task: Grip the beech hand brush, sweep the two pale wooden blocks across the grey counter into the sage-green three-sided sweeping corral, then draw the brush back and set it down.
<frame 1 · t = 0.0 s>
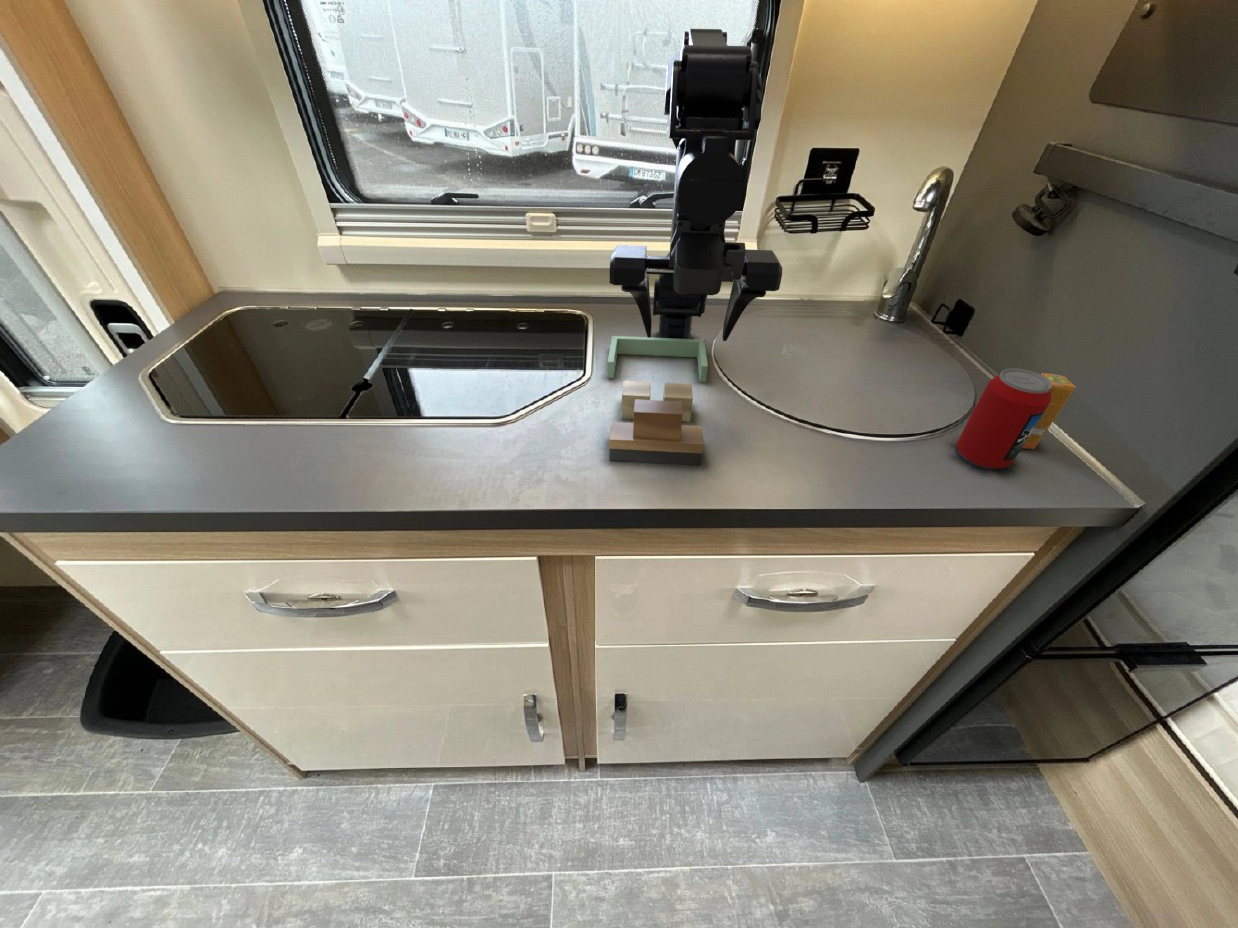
hand: (686, 338, 64), 15 cm above the worktop, tool pointing down, fingers open, 9 cm apart
block a: (635, 411, 78), on the worktop
block b: (676, 413, 78), on the worktop
brush: (654, 453, 70), on the worktop
beverage can: (980, 458, 71), on the worktop
corral: (656, 367, 89), on the worktop
supplement box: (1018, 443, 74), on the worktop
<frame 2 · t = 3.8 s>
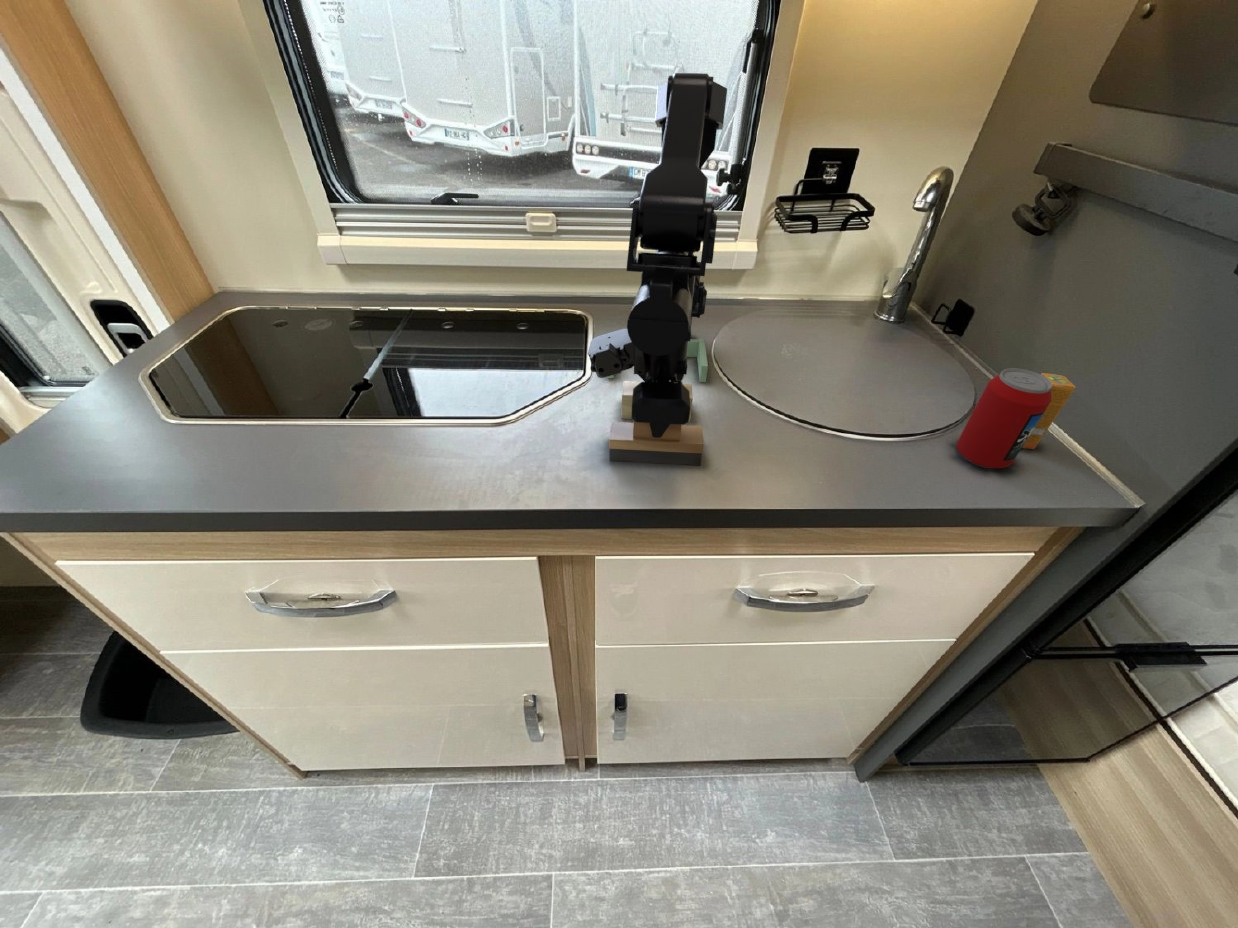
hand: (656, 429, 68), 4 cm above the worktop, tool pointing down, fingers closed on brush, 3 cm apart
brush: (654, 453, 70), on the worktop, touching gripper
everything else where it was.
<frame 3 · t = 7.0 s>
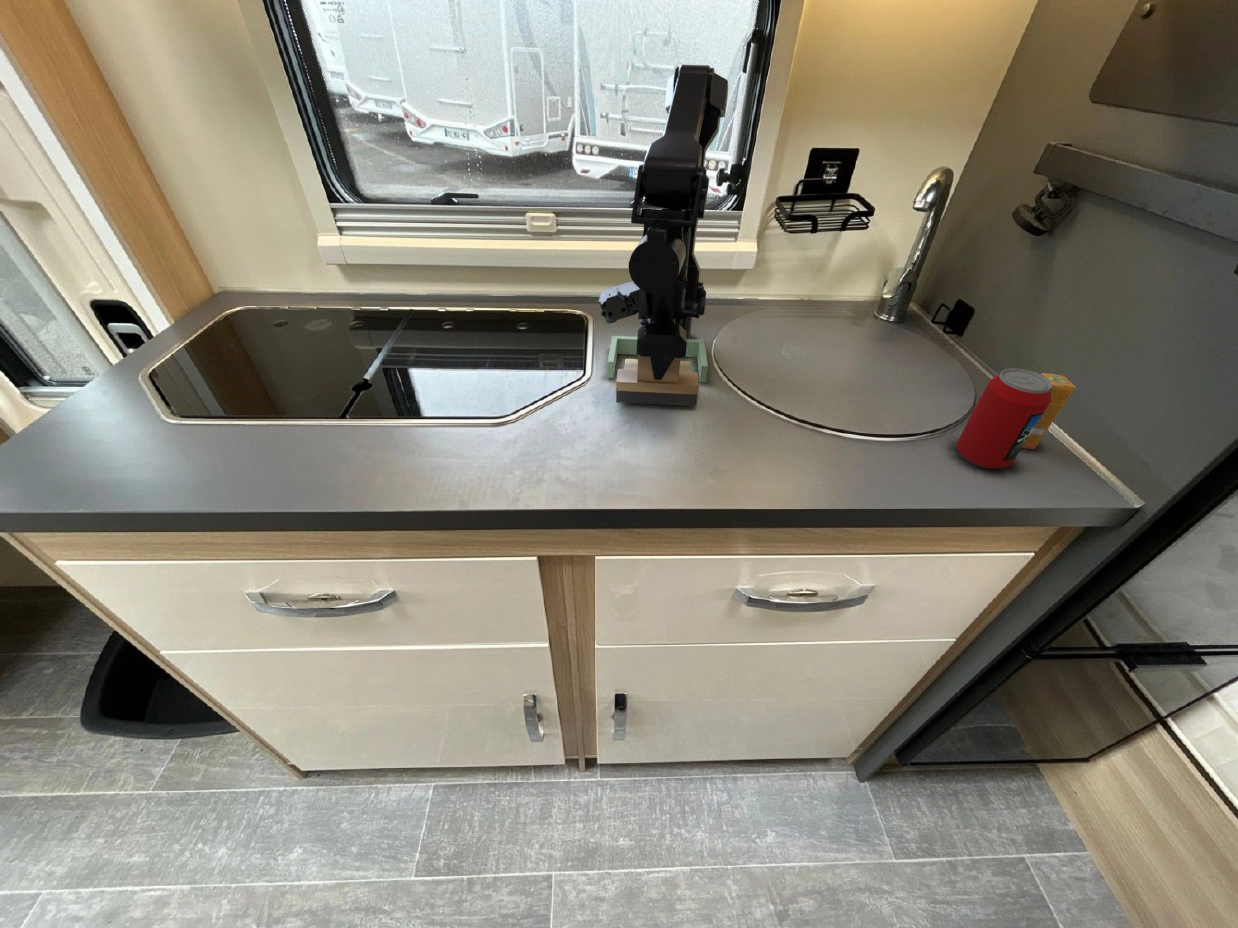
hand: (657, 373, 77), 5 cm above the worktop, tool pointing down, fingers closed on brush, 3 cm apart
block a: (636, 387, 83), on the worktop, touching brush
block b: (675, 389, 83), on the worktop
brush: (656, 397, 80), point 1 cm above the worktop, touching block a, gripper
everything else where it was.
when the fingers open (4 cm above the worktop, at t = 10.7 s): brush stays where it is, on the worktop.
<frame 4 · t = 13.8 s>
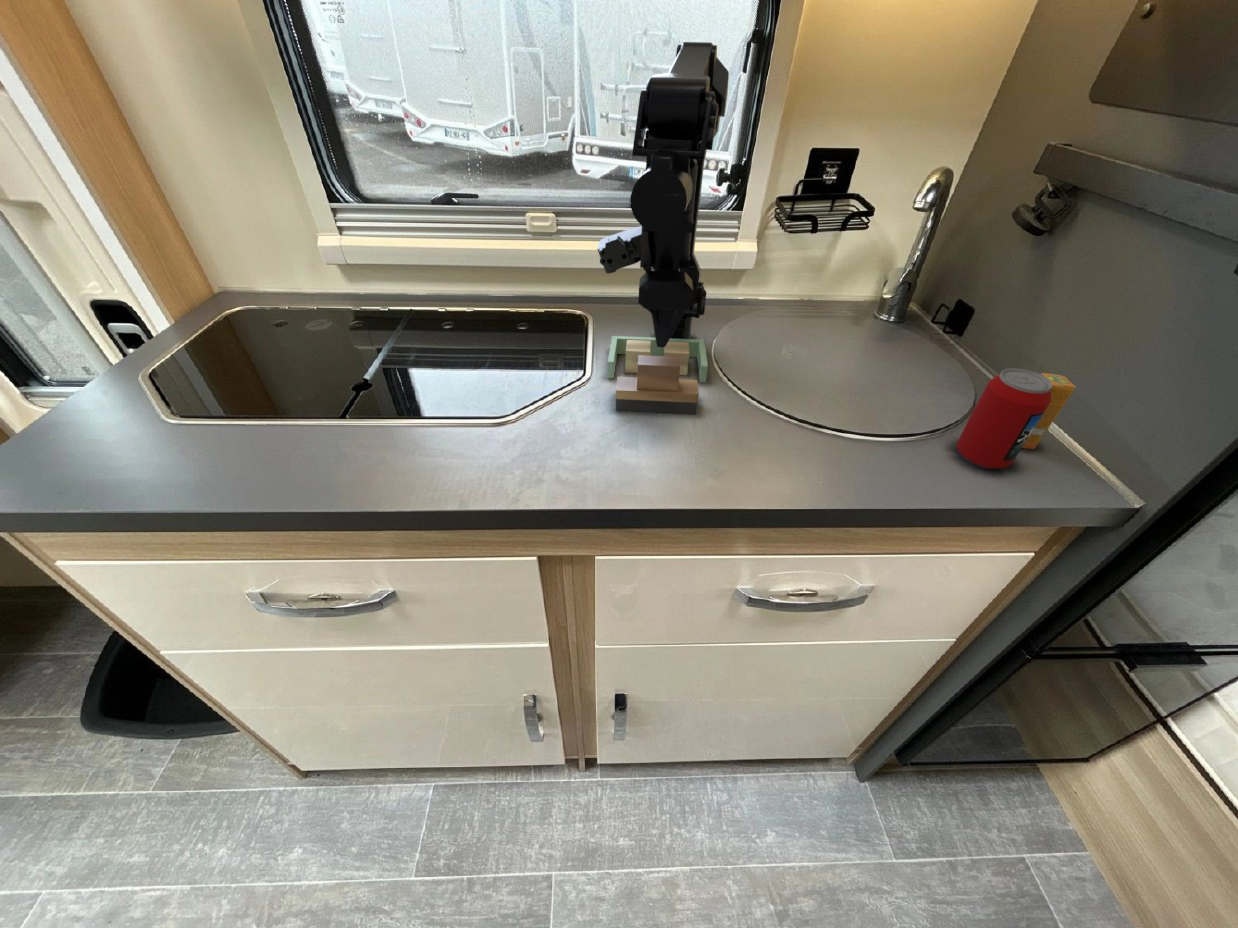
hand: (661, 331, 72), 12 cm above the worktop, tool pointing down, fingers open, 9 cm apart
block a: (637, 367, 89), on the worktop
block b: (674, 369, 88), on the worktop
brush: (655, 405, 80), on the worktop
everything else where it was.
at the end: block a inside the target area on the corral (3.2 cm from its centre), point 0.0 cm above the corral's base; block b inside the target area on the corral (3.0 cm from its centre), point 0.0 cm above the corral's base; the gripper is holding nothing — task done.
